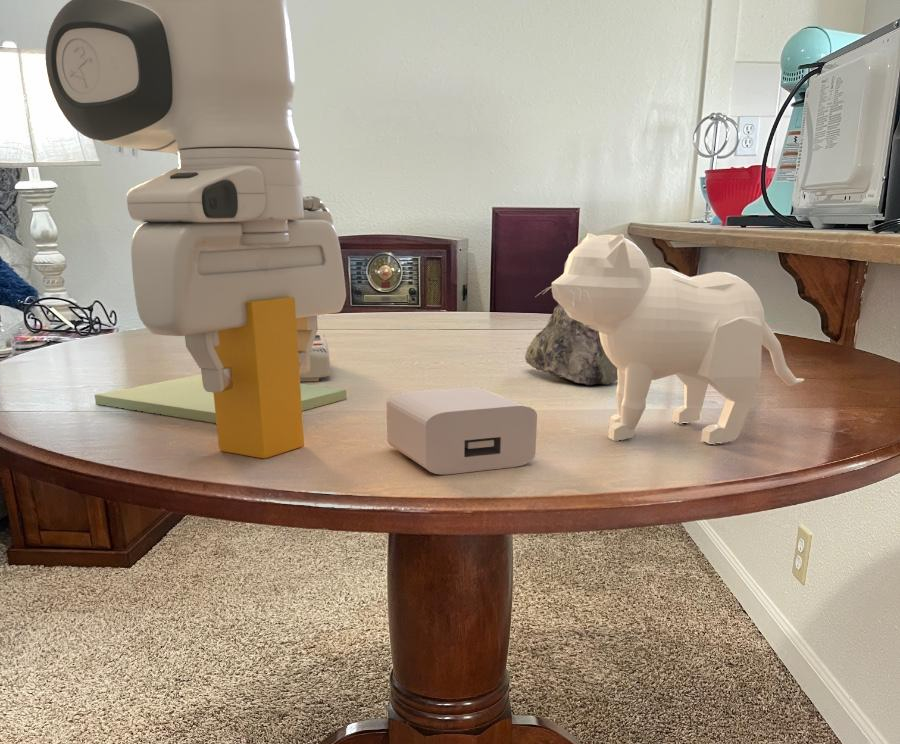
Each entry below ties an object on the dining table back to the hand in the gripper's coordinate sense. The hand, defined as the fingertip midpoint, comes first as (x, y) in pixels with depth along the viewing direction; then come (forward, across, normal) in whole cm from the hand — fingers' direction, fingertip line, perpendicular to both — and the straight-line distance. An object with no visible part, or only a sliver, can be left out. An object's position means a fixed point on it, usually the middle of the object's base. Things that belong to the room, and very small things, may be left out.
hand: (260, 381), depth 72 cm
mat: (+6, -13, -17) cm, 22 cm away
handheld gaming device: (+6, -31, -23) cm, 39 cm away
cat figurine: (+6, -23, +27) cm, 36 cm away
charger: (+6, -8, +13) cm, 16 cm away
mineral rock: (+6, -46, +8) cm, 47 cm away
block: (+6, 0, 0) cm, 6 cm away
